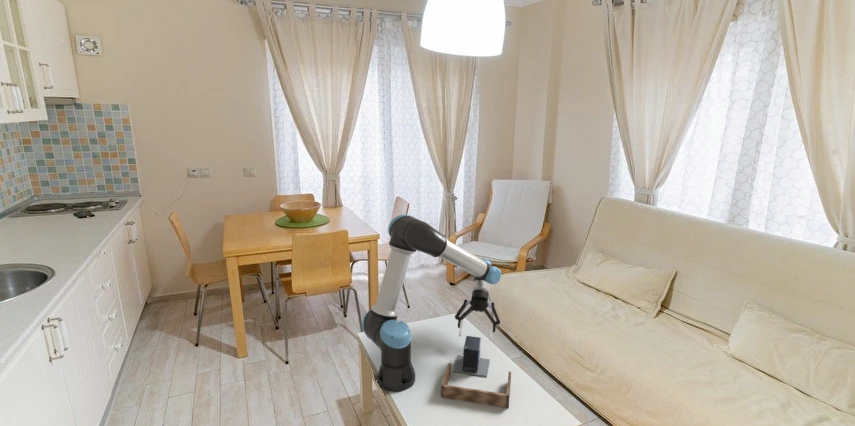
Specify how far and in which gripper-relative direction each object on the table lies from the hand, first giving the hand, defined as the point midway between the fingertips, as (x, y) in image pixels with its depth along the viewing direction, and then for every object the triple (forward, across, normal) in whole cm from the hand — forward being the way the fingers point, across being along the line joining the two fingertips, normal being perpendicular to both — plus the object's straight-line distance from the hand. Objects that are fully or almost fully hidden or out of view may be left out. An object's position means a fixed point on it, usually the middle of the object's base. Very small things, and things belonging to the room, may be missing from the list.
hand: (475, 337), depth 190 cm
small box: (+12, 0, +2) cm, 13 cm away
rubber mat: (+13, 0, +2) cm, 13 cm away
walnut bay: (+23, -4, +12) cm, 26 cm away
